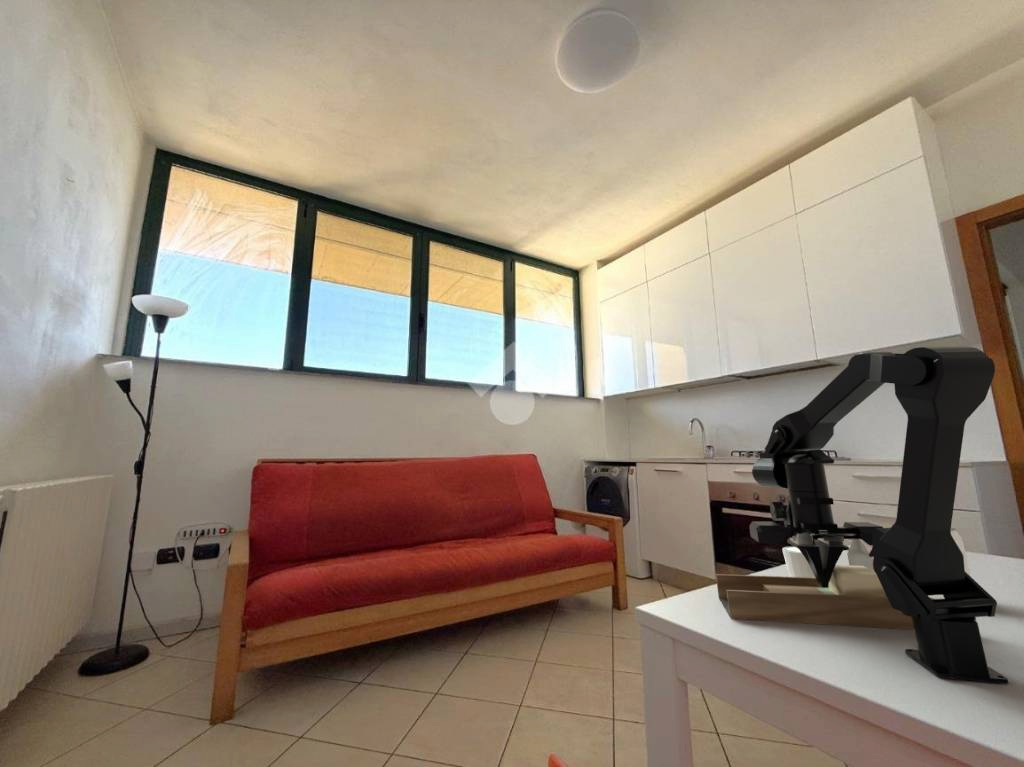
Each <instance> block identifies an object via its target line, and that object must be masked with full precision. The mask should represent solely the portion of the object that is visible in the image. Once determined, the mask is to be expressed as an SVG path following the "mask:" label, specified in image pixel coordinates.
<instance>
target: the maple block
mask: <svg viewBox="0 0 1024 767" xmlns="http://www.w3.org/2000/svg"><path fill="white" fill-rule="evenodd" d="M829 590H831V591H832V592H834V593H835V594H837V595H856V596H879V597H886V595H885V591H884V589H883V587H882V585H881V583H880V581H879V579H878V577H877V574H876V573H875V572H874V571H873V570H871V569H868V568H866V567H864V566H851V565H849V564H848V565H846V564H842V565H841V564H836V565H835V567H834V570H833V573H832V576H831V579H830V582H829Z"/></svg>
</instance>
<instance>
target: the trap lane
mask: <svg viewBox="0 0 1024 767" xmlns="http://www.w3.org/2000/svg"><path fill="white" fill-rule="evenodd" d="M715 579H716V586H717V595H718V600H719V601H720V602H722V603H721V604H723V605H722V607H723V608H724V610H725V609H726V610H725V611H726V613H727V615H728V614H729V615H728V616H729V618H730V619H732V618H739V619H738V620H751V621H753V620H754V621H765V622H767V621H769V622H780V623H781V622H782V623H785V622H786V623H798V624H799V623H801V624H815V625H830V626H847V627H848V626H849V627H861V628H862V627H864V628H865V627H866V628H881V629H897V630H910V631H912V630H914V626H913V621H912V617H911V616H906V615H904V614H903V612H901V611H899V610H896V609H894V608H892V606H891V604H890V602H889V600H888V598H887V596H886V597H879V596H856V595H837V594H835V593H834V592H832V591H831V590H829V584H828V587H827V588H823V587H821V586H820V585H819V583H818V581H817V579H816V578H809V577H789V576H780V575H779V576H778V575H777V576H776V575H775V576H773V575H749V574H748V575H746V574H725V573H724V574H719V573H716V574H715ZM885 595H886V593H885ZM931 600H933V599H931Z"/></svg>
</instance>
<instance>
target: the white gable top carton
mask: <svg viewBox="0 0 1024 767" xmlns="http://www.w3.org/2000/svg"><path fill="white" fill-rule="evenodd" d="M872 546H873V545H868V544H866V543H865V542H864V541H863V540H861V539H852V541H851V544H850V546H849V550H847V560H848V565H851V566H864V567H866V568H868V569H871V570H873V571H874V568H873V558H874V557H870V556H869V553H870V552H871V550H872Z"/></svg>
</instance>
